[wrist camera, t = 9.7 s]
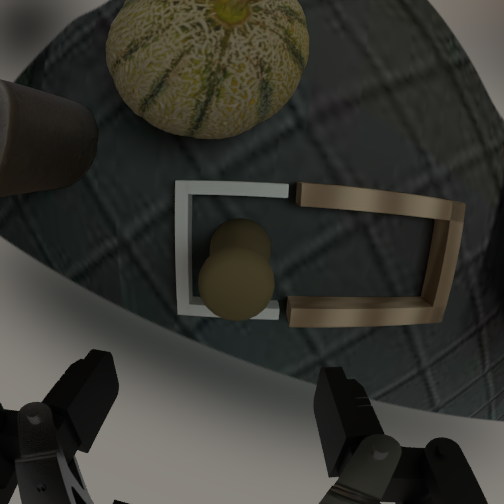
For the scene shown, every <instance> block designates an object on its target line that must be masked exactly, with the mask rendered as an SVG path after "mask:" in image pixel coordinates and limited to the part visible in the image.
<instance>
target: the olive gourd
mask: <svg viewBox="0 0 504 504" xmlns="http://www.w3.org/2000/svg"><path fill="white" fill-rule="evenodd" d="M271 251H272V249H271V241H270V238H269V236H268V234H267V232H266V231H265V230H264V229H263V228H262V227H261V226H260V225H259V224H257V223H255V222H254V221H252V220H248V219H242V218H240V219H232V220H229V221H227V222H225V223H223V224H222V225H221V226H220V227H219V228H218V229H217V230H215V232H214V234H213V236H212V238H211V242H210V256H209V257H208V258H207V259H206V261H205V262H204V264H203V266H202V268H201V270H200V272H199V278H198V287H199V292H200V297H201V299H202V301H203V302H204V304H205V306H206V307H207V308H208V309H209V310H210V311H211V312H212V313H213V314H215V315H217V316H219V317H221V318H223V319H226V320H232V321H241V320H247V319H250V318H252V317H255V316H257V315H258V314H259V313H260V312H262V311H263V310H264V309H265V308H266V306H267V305H268V303H269V302H270V300H271V298H272V295H273V291H274V287H275V284H274V275H273V271H272V269H271V267H270V265H269V260H270V255H271Z"/></svg>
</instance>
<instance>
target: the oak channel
mask: <svg viewBox="0 0 504 504" xmlns="http://www.w3.org/2000/svg"><path fill="white" fill-rule="evenodd" d="M296 203H297V204H298V205H300V206H304V207H319V208H332V209H345V210H357V211H368V212H378V213H389V214H398V215H408V216H417V217H425V218H434V219H435V221H434V229H433V235H432V242H431V248H430V254H429V259H428V264H427V270H426V274H425V279H424V284H423V288H422V293H421V296H420V297H316V296H288V300H287V310H286V314H287V319H288V323H289V327H365V326H391V325H409V324H425V323H438V322H442V319H443V316H444V312H445V309H446V305H447V301H448V298H449V294H450V290H451V286H452V281H453V277H454V273H455V268H456V263H457V258H458V253H459V247H460V242H461V236H462V229H463V222H464V215H465V206H466V204H465V203H461V202H457V201H452V200H447V199H441V198H435V197H428V196H422V195H415V194H408V193H401V192H394V191H386V190H378V189H370V188H361V187H352V186H342V185H331V184H320V183H308V182H297V188H296Z"/></svg>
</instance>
